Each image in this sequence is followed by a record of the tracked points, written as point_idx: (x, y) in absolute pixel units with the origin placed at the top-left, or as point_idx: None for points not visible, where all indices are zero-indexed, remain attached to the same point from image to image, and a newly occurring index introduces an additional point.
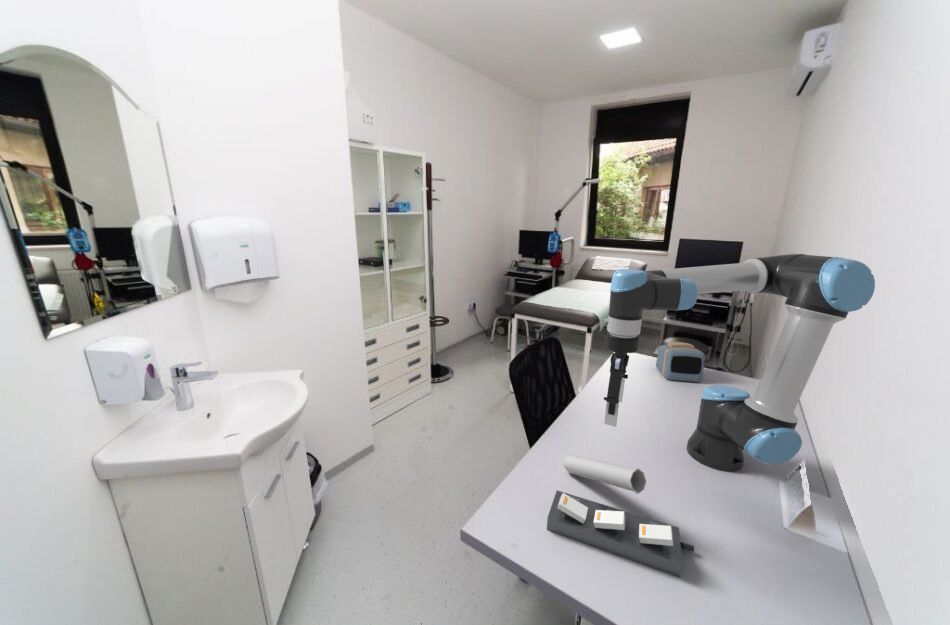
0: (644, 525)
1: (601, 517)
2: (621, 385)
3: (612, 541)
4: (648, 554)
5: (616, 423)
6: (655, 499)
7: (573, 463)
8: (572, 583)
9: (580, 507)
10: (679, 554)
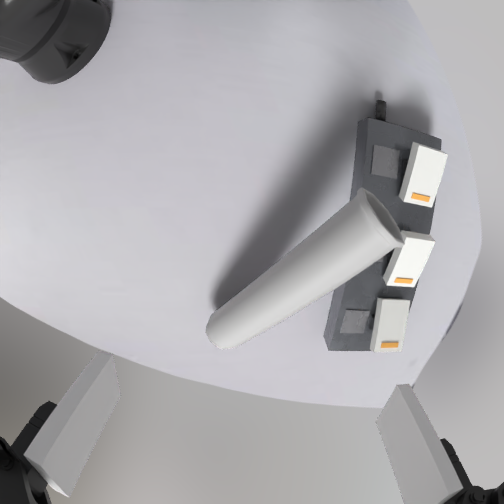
0: (409, 193)
1: (407, 275)
2: (65, 442)
3: None
4: None
5: (414, 395)
6: (252, 141)
7: (249, 338)
8: (455, 290)
9: (390, 313)
10: (427, 137)
